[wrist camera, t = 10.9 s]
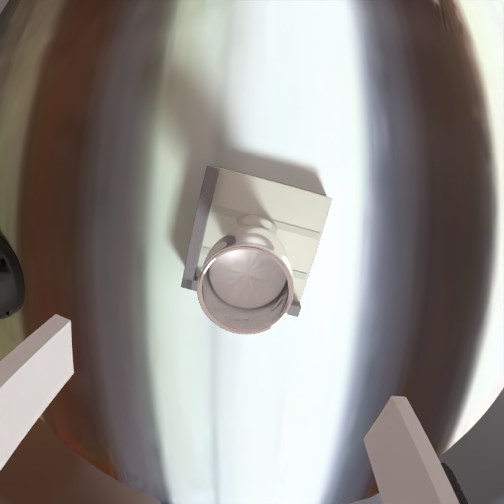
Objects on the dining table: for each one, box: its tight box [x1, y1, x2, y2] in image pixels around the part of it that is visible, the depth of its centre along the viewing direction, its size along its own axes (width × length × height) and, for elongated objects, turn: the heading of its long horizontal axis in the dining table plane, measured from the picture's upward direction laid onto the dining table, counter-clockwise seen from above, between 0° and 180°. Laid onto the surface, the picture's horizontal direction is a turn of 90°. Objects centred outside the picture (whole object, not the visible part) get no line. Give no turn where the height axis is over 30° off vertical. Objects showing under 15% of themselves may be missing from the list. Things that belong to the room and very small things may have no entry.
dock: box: [181, 166, 332, 317], centre depth 36 cm, size 14×14×4 cm
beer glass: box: [197, 215, 294, 334], centre depth 28 cm, size 7×7×15 cm
